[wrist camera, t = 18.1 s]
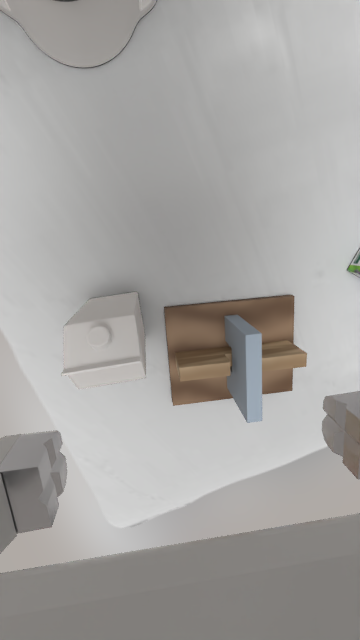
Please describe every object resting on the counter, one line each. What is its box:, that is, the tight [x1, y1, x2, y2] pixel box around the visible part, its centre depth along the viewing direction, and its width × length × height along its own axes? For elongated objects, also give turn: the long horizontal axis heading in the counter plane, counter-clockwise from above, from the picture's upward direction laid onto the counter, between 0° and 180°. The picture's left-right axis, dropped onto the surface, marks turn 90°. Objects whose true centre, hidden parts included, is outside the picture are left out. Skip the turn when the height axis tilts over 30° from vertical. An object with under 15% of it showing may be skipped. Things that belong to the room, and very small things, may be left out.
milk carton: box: [61, 292, 146, 389], centre depth 37 cm, size 7×7×19 cm
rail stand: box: [164, 295, 307, 406], centre depth 46 cm, size 16×20×7 cm
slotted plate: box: [224, 315, 262, 423], centre depth 43 cm, size 12×2×10 cm, turn 4°
